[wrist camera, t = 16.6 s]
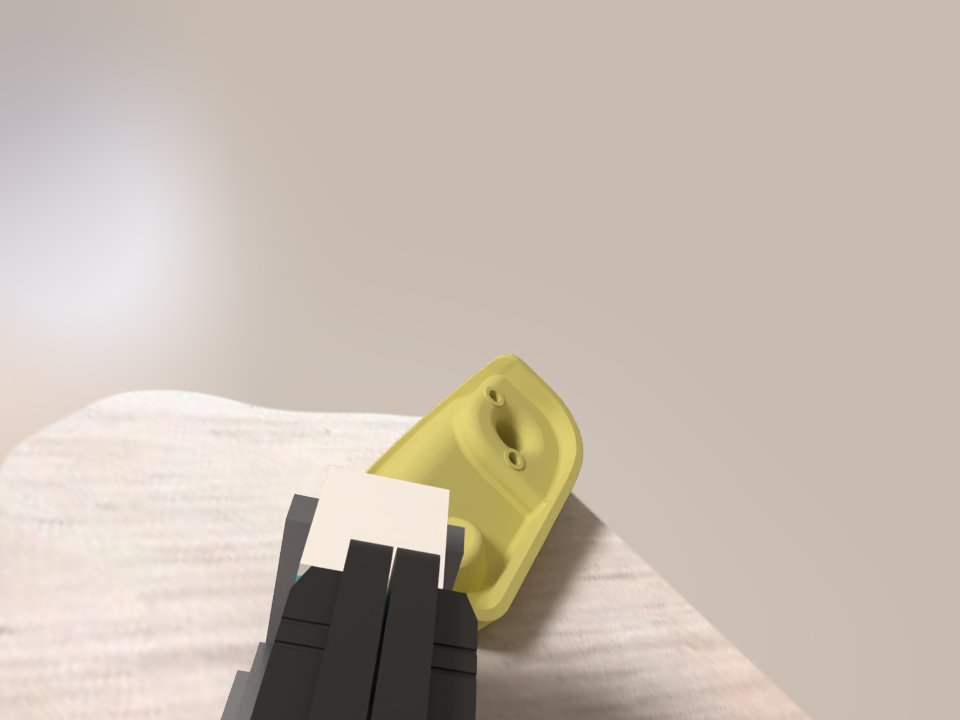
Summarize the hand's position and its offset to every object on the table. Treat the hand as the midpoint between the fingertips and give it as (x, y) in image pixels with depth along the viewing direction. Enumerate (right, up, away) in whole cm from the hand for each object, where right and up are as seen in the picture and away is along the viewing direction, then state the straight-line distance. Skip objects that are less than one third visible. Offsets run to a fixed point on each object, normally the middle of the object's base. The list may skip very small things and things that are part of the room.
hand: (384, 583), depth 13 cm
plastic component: (0, -7, +35) cm, 36 cm away
